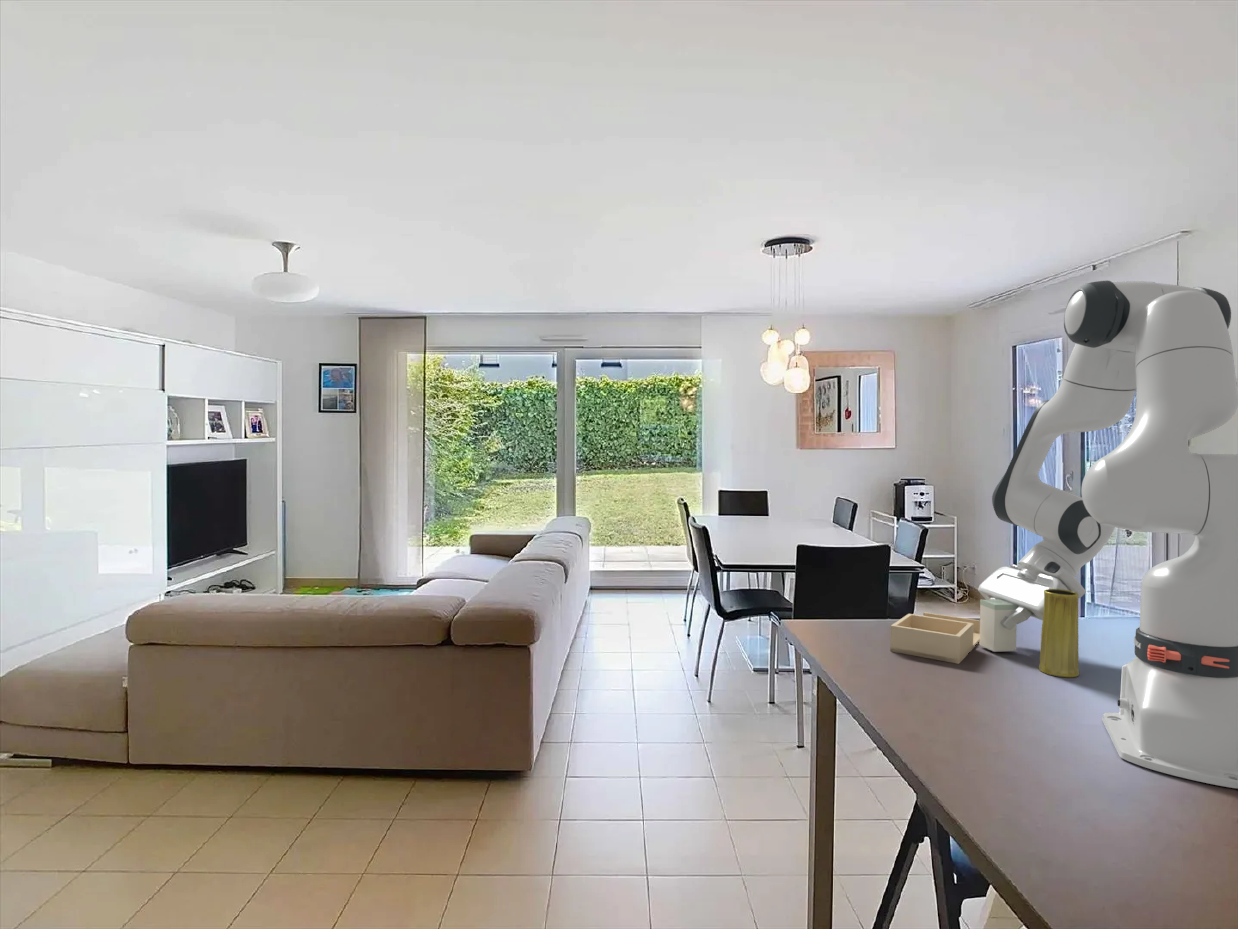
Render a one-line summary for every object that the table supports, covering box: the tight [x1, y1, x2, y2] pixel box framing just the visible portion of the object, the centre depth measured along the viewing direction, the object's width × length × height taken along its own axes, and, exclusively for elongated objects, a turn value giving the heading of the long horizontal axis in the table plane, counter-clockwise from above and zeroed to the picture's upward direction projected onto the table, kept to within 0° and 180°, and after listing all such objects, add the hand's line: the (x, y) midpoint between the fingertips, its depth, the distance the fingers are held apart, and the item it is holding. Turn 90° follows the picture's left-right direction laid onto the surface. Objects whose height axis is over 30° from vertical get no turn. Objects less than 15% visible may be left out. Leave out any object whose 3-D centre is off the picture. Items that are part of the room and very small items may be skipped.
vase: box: [1038, 589, 1080, 679], centre depth 124 cm, size 6×6×14 cm
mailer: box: [889, 611, 980, 665], centre depth 142 cm, size 24×12×5 cm, turn 143°
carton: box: [978, 598, 1017, 652], centre depth 137 cm, size 4×4×9 cm
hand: (994, 622), depth 137 cm, fingers closed on carton, 4 cm apart
